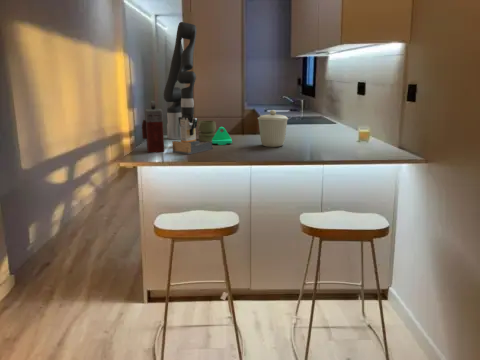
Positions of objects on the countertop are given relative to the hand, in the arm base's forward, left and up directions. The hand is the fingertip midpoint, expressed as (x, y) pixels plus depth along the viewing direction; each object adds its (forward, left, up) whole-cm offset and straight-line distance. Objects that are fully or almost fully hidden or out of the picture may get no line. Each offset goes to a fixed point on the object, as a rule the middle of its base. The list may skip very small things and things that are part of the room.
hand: (188, 134), depth 273 cm
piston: (-5, +23, -7) cm, 25 cm away
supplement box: (0, 0, -4) cm, 4 cm away
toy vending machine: (-4, -25, -7) cm, 26 cm away
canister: (+42, +28, -7) cm, 51 cm away
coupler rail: (+14, -11, -7) cm, 18 cm away
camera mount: (+12, +17, -7) cm, 22 cm away
